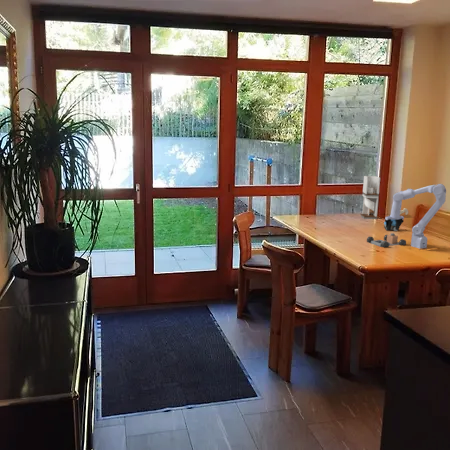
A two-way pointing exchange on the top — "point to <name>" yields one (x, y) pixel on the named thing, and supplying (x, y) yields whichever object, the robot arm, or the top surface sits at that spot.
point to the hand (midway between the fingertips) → (392, 230)
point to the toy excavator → (395, 221)
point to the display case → (370, 197)
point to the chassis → (384, 242)
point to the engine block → (392, 238)
